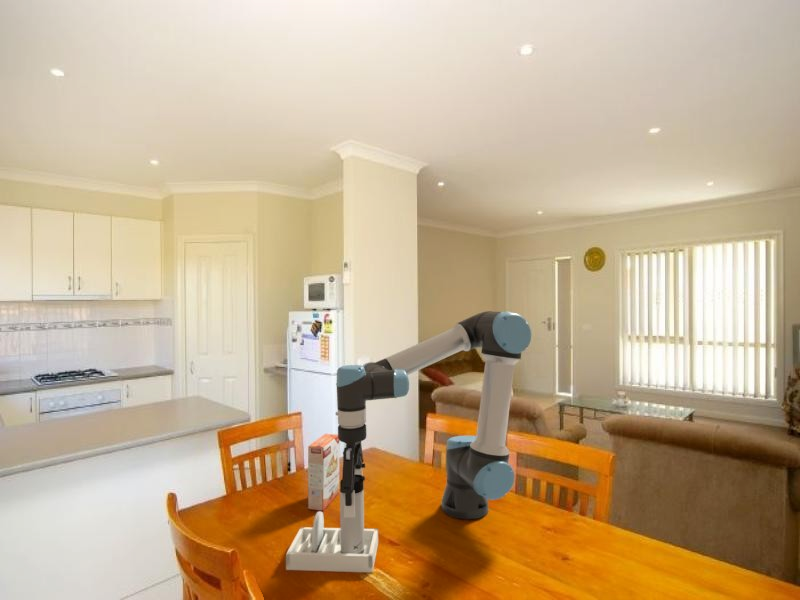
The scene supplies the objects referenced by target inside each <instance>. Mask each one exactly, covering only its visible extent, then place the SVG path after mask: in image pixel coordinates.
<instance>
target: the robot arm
mask: <svg viewBox="0 0 800 600" xmlns="http://www.w3.org/2000/svg"><path fill="white" fill-rule="evenodd" d="M531 340H532V330H531V327H530V324H529V323H528V322H527V320H526V319H525V317H523V316H522V315H521V314H519V313H515V312H511V311H491V310H490V311H489V310H487V311H486V310H485V311H483V312H479V313H477V314H475V315H472V316H470V317H467V318H465V319H463V320H461V321H459V322H457V323H455V324H454V325H453V327H452V328H451V329H448V330H446V331H444V332H442V333H439V334H436V335H435V336H432V337H430V338H428V339H426V340H424V341H421V342H419V343H417V344H415V345H412V346H410V347H408V348H405V349H402V350H401V351H399V352H396V353H394V354H391V355H390V356H386V357H385V358H383V359H380V360H377V361H375V362H372V361H371V362H367V363H364V364H363V365H361V364H348V365H342V366H339V367H338V369H337V370H336V384H335V385H336V399H337V400H336V405H337V411H336V412H335V416H337V424H338V426H337V435H338V439H339V442H341V443H345V447H344V448H343V450H342V456H343V457H342V458H343V459H342V461H343V462H342V477H341V478H342V479H341V480H342V489H340V488H339V493H340V492H342V493H343V497H344V517H355V490H354V477H355V474H358V475H362V476H364V474H363V473H364V471H363V468H364V469H366V463H364V460H365V459H364V455H363V448H362V442H363V441H365V440H366V439H367V424H366V423H367V404H366V403H367V401H375V400H386V399H387V400H389V399H397V398H402V397H406V396H407V394H408V393H409V389H410V379H409V375H410V374H413V373H415V372H417V371H420V370H422V369H424V368H426V367H429V366H431V365H432V364H435V363H438V362H439V361H441V360H444V359H445V358H448V357H451V356H453V355H454V354H458V353H459V352H461V351H464V352H469V351H471V350H474V349H478V348H479V349H480V348H481V353H480V354H481V356H482V357H483V359H484V361H485V363H484V368H483V369H484V371H483V380H482V386H481V394H480V403H479V409H478V410H479V413H478V419H477V425H476V426H477V427H476V435H456V436H452V437H449V438H448V439H447V441H446V448H445V450H446V451H445V452H446V484H445V489H444V492H443V495H442V497H441V510H442V512H444V513H445V514H446V515H448V516H450V517H452V518H455V519H460V520H476V519H480V518H483V517H485V516H486V515H487V514H488V513H489V501H488V500H490V501H496V500H500V499H502V498H503V497H505V496H506V494H509V492H510V491H511V490H512V488H513V487H514V483H515V470H514V469H513V468H512V466H511V465H510V464H509V461H510V450H509V448H508V447H507V446H506V440H507V432H508V425H509V424H508V423H509V415H510V409H511V408H510V405H511V397H512V389H513V383H514V382H513V381H514V375H515V366H516V364H518V362H520V361H521V360H522V352H524V351H526V349H527V348H529V346H530V344H531Z"/></svg>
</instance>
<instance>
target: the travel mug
mask: <svg viewBox="0 0 800 600" xmlns="http://www.w3.org/2000/svg"><path fill="white" fill-rule="evenodd" d="M365 478H366V477H365V475H363V476H362V475H358V474H355V477H354V490H355V517H344V497H343V493H342V492H340V491H339V508H340V509H339V511H340V512H339V514H340V516H339V517H340V518H339V519H340V527H339V528H340V530H341V553H348V554H363V553H364V529H365V499H364V498H365V493H364V492H365V491H364V489H365V488H364V482H365ZM340 489H342V479H341V480H339V490H340Z"/></svg>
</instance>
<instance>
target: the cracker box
mask: <svg viewBox="0 0 800 600" xmlns="http://www.w3.org/2000/svg"><path fill="white" fill-rule="evenodd" d="M307 447H308V448H307V449H308V450H307V451H308V453H307V454H308V456H307V465H308V466H307V469H308V470H307V471H308V473H307V475H308V476H307V480H308V481H307V499H308V500H307V510H313V511H319V512H323V511H325V510H326V508H327V507H328V506H329V505H330V504H331V502H333V500H334V499H335V498H336V497H337V496H338V495H340V440H339V439H338V434H336V433H335V434H334V433H324V434H323V435H322V436H320V437H319V438H318V439H316V440H315V441H314V442H313V443H310V445H308V446H307Z"/></svg>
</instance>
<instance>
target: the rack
mask: <svg viewBox="0 0 800 600" xmlns="http://www.w3.org/2000/svg"><path fill="white" fill-rule="evenodd" d="M324 521H325V519H324V513H323V511H317V512H316V513H315V516H314V518H313V523H312V524H313V525H312V527H307V526H301V527H300V528H299V530H298V531H297V533H296V535H295V537H294V538H293V541H292V542H291V544H290V546H289V547H288V550H287V552H286V554H285V570H286V571H311V572H312V571H315V572H321V571H322V572H345V573H373V571H374V566H375V561H376V557H377V552H378V551H377V550H378V545H379V529H378V528H364V553H363V554H348V553H341V530H340V527H325V522H324Z"/></svg>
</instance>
